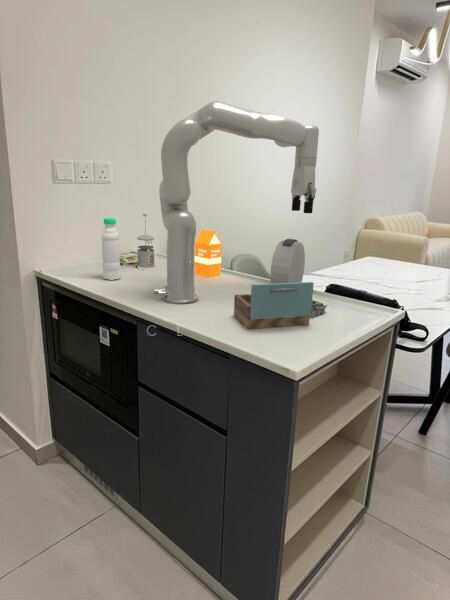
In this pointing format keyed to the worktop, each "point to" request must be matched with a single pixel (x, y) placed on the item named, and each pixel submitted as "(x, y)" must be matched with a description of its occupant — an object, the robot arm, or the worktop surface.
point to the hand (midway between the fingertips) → (301, 211)
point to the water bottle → (110, 250)
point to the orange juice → (208, 254)
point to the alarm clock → (288, 262)
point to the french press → (145, 251)
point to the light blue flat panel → (281, 300)
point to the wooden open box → (243, 316)
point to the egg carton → (317, 308)
